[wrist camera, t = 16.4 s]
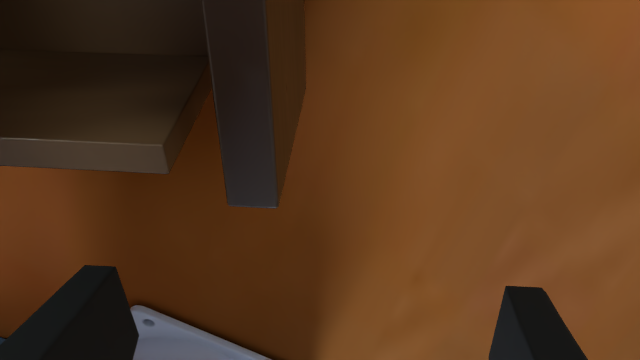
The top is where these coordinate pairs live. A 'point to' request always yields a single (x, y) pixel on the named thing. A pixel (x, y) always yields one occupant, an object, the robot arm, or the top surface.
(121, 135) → the drawer
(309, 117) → the top surface
